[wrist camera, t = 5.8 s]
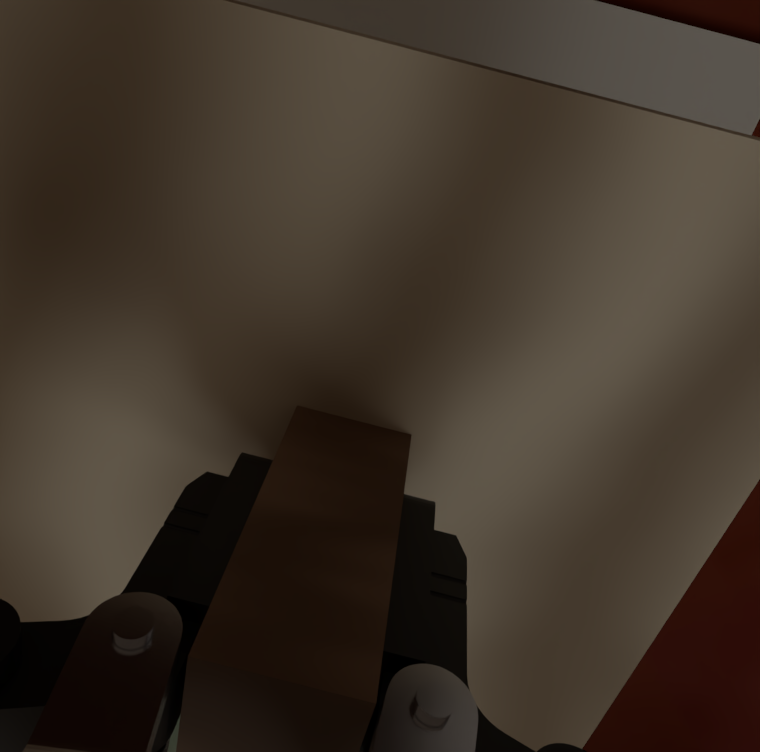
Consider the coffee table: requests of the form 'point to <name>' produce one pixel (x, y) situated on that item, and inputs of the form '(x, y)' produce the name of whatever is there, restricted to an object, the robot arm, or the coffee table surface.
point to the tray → (570, 49)
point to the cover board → (365, 351)
